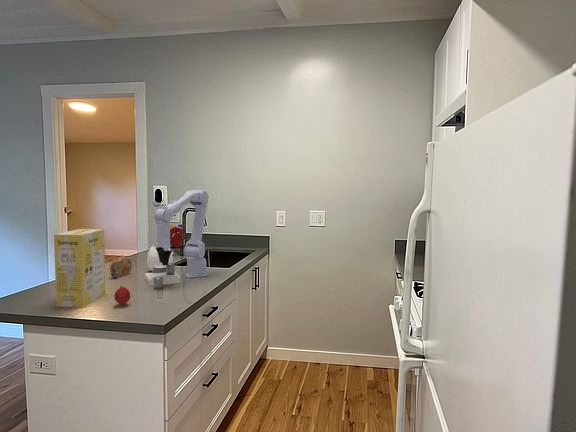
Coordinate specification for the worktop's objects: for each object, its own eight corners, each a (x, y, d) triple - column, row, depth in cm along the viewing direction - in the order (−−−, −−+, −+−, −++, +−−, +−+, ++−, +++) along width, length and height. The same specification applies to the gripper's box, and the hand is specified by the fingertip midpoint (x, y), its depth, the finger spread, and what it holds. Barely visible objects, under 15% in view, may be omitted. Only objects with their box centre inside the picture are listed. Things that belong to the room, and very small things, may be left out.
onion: (117, 303, 165) (116, 283, 165) (132, 303, 166) (131, 283, 165) (112, 307, 160) (112, 287, 159) (127, 307, 160) (127, 287, 159)
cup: (176, 268, 229) (176, 244, 228) (167, 274, 216) (167, 248, 215) (153, 267, 230) (153, 243, 229) (142, 273, 217) (142, 247, 216)
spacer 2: (173, 272, 204) (173, 262, 203) (175, 274, 200) (175, 264, 199) (165, 273, 202) (165, 263, 201) (166, 275, 198) (166, 265, 198)
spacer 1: (162, 287, 191) (162, 276, 190) (163, 289, 187) (163, 278, 187) (153, 287, 189) (153, 277, 188) (154, 290, 185) (154, 279, 185)
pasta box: (81, 293, 178) (79, 228, 176) (105, 294, 178) (104, 229, 175) (56, 306, 160) (53, 234, 157) (83, 307, 160) (81, 235, 157)
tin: (114, 279, 203) (114, 262, 202) (109, 279, 204) (108, 262, 203) (132, 273, 218) (131, 257, 217) (126, 272, 218) (126, 256, 218)
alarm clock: (183, 245, 306) (183, 218, 304) (189, 247, 299) (188, 219, 298) (164, 247, 296) (164, 219, 295) (169, 249, 290) (169, 220, 288)
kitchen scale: (173, 276, 211) (173, 264, 211) (180, 283, 198) (179, 269, 198) (144, 279, 205) (144, 266, 204) (149, 286, 192) (149, 272, 191)
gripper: (152, 233, 197) (152, 261, 198) (157, 237, 184) (157, 267, 185) (167, 232, 200) (167, 260, 201) (173, 236, 187) (173, 266, 188)
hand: (163, 263), depth 193 cm, fingers open, 7 cm apart
